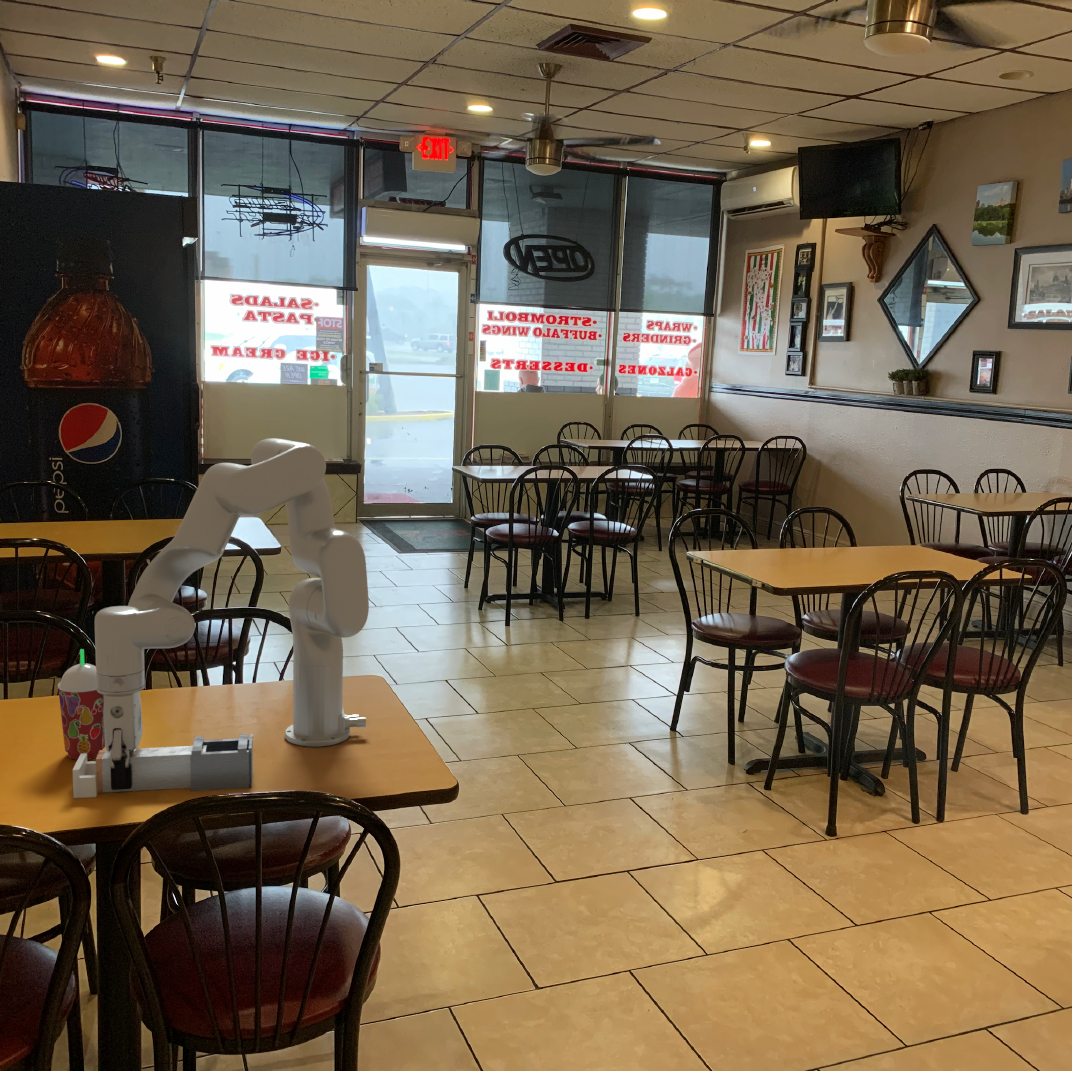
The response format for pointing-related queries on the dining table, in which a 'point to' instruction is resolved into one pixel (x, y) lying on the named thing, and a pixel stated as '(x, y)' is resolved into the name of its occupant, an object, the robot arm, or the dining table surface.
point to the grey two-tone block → (149, 768)
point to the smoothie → (82, 711)
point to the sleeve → (222, 763)
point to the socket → (84, 778)
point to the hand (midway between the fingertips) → (123, 781)
